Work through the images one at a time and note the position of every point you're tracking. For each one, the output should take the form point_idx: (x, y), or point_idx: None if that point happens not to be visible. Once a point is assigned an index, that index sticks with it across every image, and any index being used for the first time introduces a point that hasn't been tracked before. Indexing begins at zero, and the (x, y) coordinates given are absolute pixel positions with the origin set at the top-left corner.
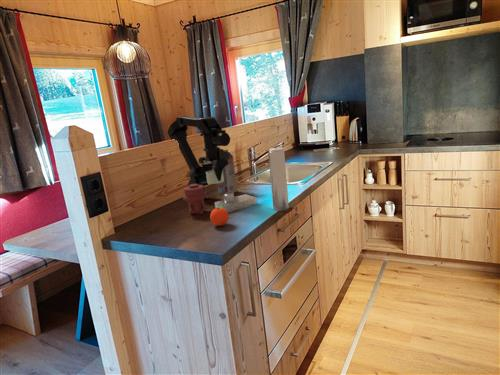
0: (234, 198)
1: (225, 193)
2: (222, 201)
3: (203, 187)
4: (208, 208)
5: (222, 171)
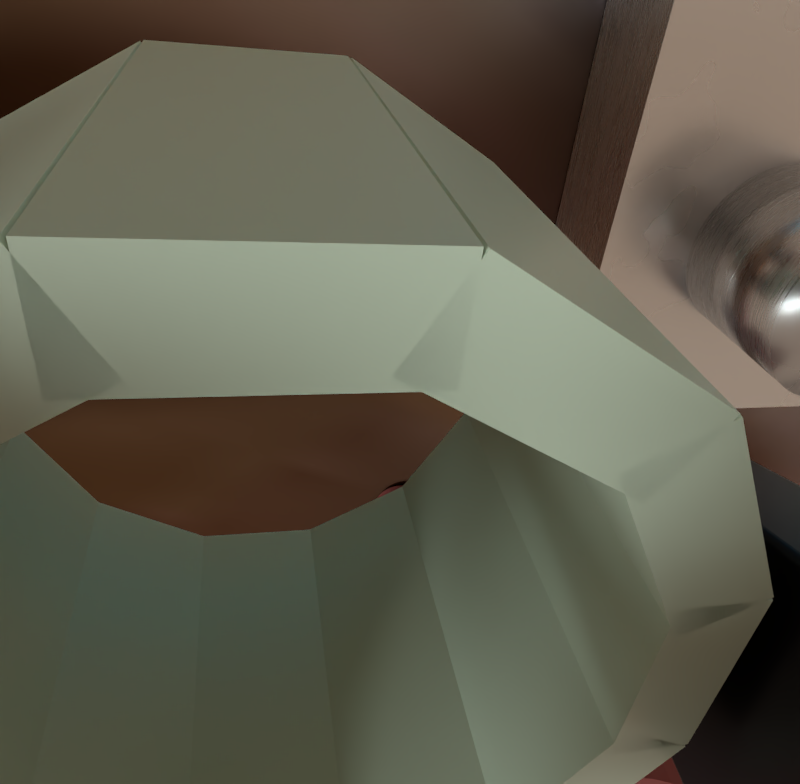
0: (737, 72)
1: (790, 338)
2: (646, 317)
3: (669, 772)
4: (413, 403)
5: (717, 400)
